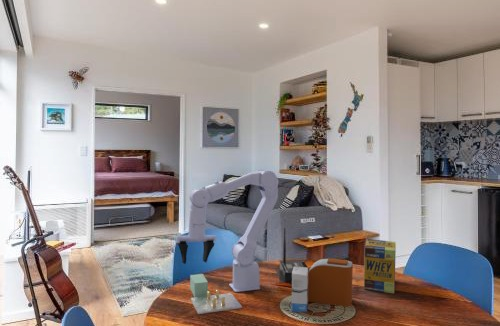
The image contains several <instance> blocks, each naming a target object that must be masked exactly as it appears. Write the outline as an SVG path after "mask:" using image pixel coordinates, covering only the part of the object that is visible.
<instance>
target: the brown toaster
mask: <svg viewBox="0 0 500 326" xmlns="http://www.w3.org/2000/svg"><path fill="white" fill-rule="evenodd" d="M353 269H354V268H353V262H352V261H350V260H347V259H340V258H339V259H338V258H321V259H318V260H317V261H315V262H314V263H313V264H312V265H311V267H310V268H309V272H308V303H309V302H310V303H316V304H322V305H323V304H324V305H330V306H339V307H345V308H346V307H348V308H349V307H351V306H352V303H353Z"/></svg>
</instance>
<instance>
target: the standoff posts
mask: <svg viewBox="0 0 500 326" xmlns="http://www.w3.org/2000/svg"><path fill="white" fill-rule="evenodd" d="M219 294H220V290H219V289H216V290H215V295H216V298H219ZM210 295H211V290H208V291H207V299H210ZM221 306H225V297H222V298H221ZM212 307H216V299H215V298H213V299H212Z"/></svg>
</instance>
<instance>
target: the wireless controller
mask: <svg viewBox="0 0 500 326" xmlns="http://www.w3.org/2000/svg"><path fill="white" fill-rule="evenodd" d="M283 230H284V231H283V245H282V246H283V247H282V251H283V253H282V254H283V255H282V260H279V269H275V272H276V276H277V278H278V280H279V283H292V271H293V268H294V267H306V268H308V272H309V270H310V268H309V267H308V265H307V264H306V261H305V260H287V259H286V258H287V255H286V254H287V242H286V228H285V227H284V228H283Z"/></svg>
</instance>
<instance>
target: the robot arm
mask: <svg viewBox="0 0 500 326" xmlns="http://www.w3.org/2000/svg"><path fill="white" fill-rule="evenodd" d="M277 176H278V175H276V173H275V172H273V171H271V170H264V169H259V170H257V171H252V172H249V173H246V174H244V175H241V176H240V177H237V178H234V179H231V180H230V181H226V182H224V181H222V180H215V181H214V183H213V184H210V185H207V186H204V185H203V186H201V188H200V189H194V190H192V192H191V193H190V196H189V201H190V202H191V203H190V210H189V223H188V234H186V235H176V236H175V237H174V238H175V240H174V242H175V243H176V244H177V245H178V249H179V251H180V255H181V262H182V264H183V265H184V264H185V265H186V264H187V253H188V248H189V245H188V243H196V242H197V243H198V242H199V243H200V242H201V243H203V251H202V252H203V253H202V262H204V263H207V262H208V258H209V256H210V254H211V251H212V249H214V246H215V242H217V239H218V238H217V235H215V234H206V223H207V207H208V206H207V205H208V204H209V203H212V202H216V201H217V200H220V199H222V198H224V197H227V196H228V194H229V192H231V191H233V190H237V189H239V188H242V187H245V186H248V185H253V186H257V188H258V189H259V191H260V193H261V196H262V197H261V200H260V202H259V204H258V206H257V207H256V210H255V212H254V214H253V216H252V219H251V220H250V222H249V223H248V226H247V228H246V230H245V232H244V234H243V235H242V236H240V237H239V239H238V241H237V242H236V243H235V244H234V245H233V246H232V247H231V255H232V257H233V260H232V282H231V283H229V287H230V288H231V289H232V290H233V291H234V292H235V293H238V292H239V293H240V292H246V291H247V292H249V291H256V290H260V289H261V286H260V267H259V266H260V265H259V264H258V263H257V262H256V261H254V260H255V253H256V250H257V241H258V239H259V238H260V236H261V233H262V231H264V230H263V229H264V227H265V226H266V224H267V221H268V219H269V218H270V215H271V214H272V211H273V209H274V208H275V205H276V204H277V201H278V198H279V191H278V188H279V187H278V185H279V183H280V181H279V179H278V177H277Z"/></svg>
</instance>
